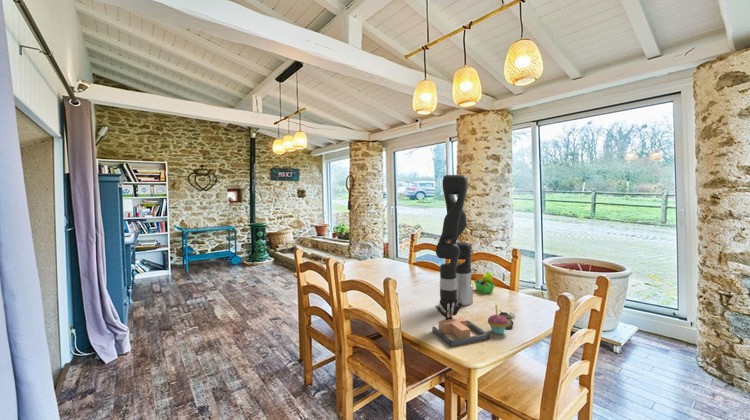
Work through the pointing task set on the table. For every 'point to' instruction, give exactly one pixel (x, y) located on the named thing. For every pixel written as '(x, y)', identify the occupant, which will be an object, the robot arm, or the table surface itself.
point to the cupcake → (498, 323)
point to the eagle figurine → (509, 317)
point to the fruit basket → (485, 284)
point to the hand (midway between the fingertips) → (448, 324)
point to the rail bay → (463, 341)
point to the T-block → (455, 327)
